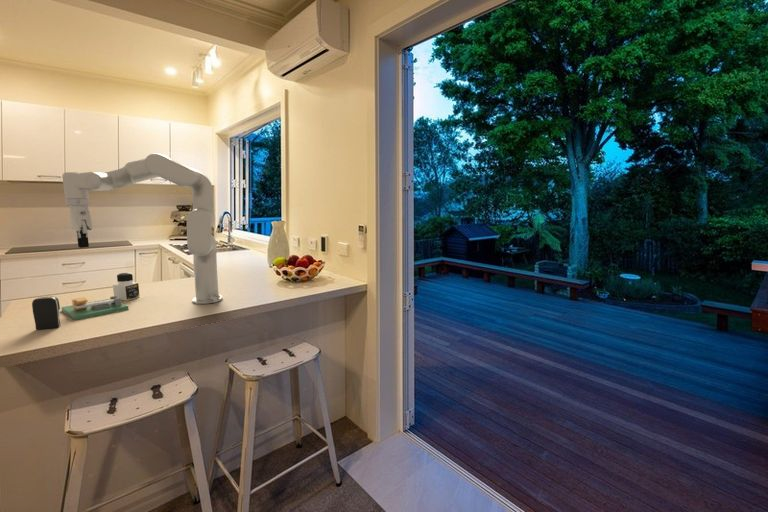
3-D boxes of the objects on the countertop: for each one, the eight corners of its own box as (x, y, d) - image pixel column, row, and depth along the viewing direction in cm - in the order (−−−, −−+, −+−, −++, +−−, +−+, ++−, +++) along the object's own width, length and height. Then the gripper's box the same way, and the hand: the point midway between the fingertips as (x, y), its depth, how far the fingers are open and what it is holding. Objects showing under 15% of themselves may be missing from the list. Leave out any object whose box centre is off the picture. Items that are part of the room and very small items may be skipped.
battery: (63, 324, 138) (59, 294, 137) (59, 328, 135) (55, 297, 133) (39, 326, 136) (35, 296, 134) (34, 330, 132) (30, 299, 131)
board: (128, 309, 158) (127, 298, 157) (74, 320, 144) (73, 308, 143) (112, 301, 169) (111, 291, 168) (61, 310, 155) (60, 299, 154)
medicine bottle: (127, 301, 170) (124, 275, 168) (113, 300, 172) (111, 274, 170) (140, 297, 177) (137, 272, 175) (127, 296, 179) (124, 271, 177)
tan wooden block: (90, 310, 150) (88, 299, 150) (77, 312, 147) (76, 301, 147) (85, 307, 154) (84, 296, 154) (73, 309, 151) (71, 298, 150)
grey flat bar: (119, 302, 158) (118, 298, 158) (77, 309, 147) (76, 305, 147) (116, 300, 160) (116, 297, 160) (74, 307, 149) (74, 304, 149)
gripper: (94, 203, 152) (100, 247, 154) (83, 202, 161) (89, 244, 164) (71, 203, 146) (77, 249, 149) (61, 203, 155) (67, 246, 158)
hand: (83, 247), depth 156 cm, fingers closed
